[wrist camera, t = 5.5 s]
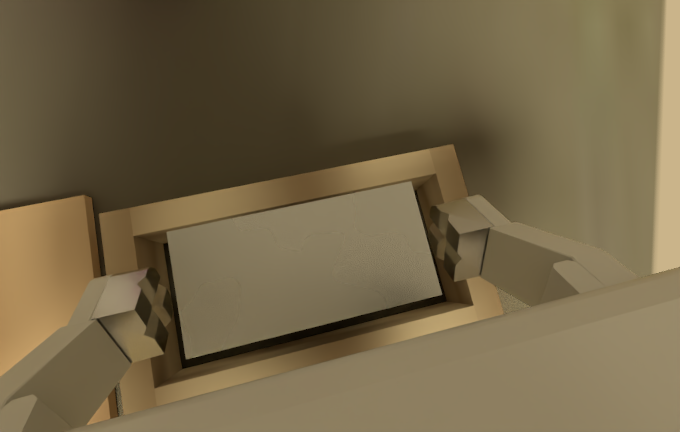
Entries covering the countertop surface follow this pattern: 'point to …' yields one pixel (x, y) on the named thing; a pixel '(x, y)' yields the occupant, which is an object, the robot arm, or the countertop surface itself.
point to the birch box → (158, 218)
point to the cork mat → (45, 276)
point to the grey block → (299, 267)
